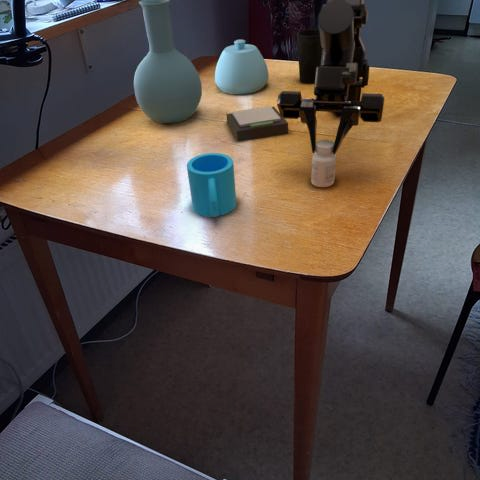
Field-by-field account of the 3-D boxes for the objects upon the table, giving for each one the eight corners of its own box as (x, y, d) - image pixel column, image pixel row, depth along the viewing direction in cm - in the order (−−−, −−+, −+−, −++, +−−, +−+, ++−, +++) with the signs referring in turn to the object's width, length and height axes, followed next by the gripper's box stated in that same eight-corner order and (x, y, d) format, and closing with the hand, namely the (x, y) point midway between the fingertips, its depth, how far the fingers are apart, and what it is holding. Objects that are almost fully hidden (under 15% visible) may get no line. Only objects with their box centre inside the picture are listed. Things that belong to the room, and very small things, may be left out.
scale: (274, 116, 118) (274, 103, 116) (288, 133, 111) (288, 120, 109) (226, 123, 117) (225, 111, 115) (237, 141, 109) (236, 128, 107)
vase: (148, 134, 115) (125, 12, 98) (133, 111, 126) (110, -1, 109) (213, 120, 119) (201, 1, 102) (193, 99, 130) (179, -11, 113)
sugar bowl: (236, 75, 143) (233, 31, 135) (278, 82, 136) (278, 36, 128) (205, 91, 135) (200, 44, 127) (248, 99, 128) (246, 51, 120)
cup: (322, 85, 133) (324, 36, 124) (294, 84, 134) (295, 36, 126) (324, 75, 138) (326, 28, 130) (297, 75, 139) (298, 28, 131)
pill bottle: (336, 178, 94) (339, 139, 89) (331, 189, 91) (334, 149, 86) (313, 176, 95) (315, 137, 90) (308, 186, 92) (310, 147, 87)
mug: (192, 195, 92) (186, 155, 87) (234, 192, 92) (231, 151, 87) (192, 230, 83) (186, 187, 78) (239, 225, 84) (236, 182, 78)
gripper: (278, 41, 82) (266, 132, 82) (392, 42, 78) (378, 137, 78) (287, 76, 93) (275, 156, 93) (387, 78, 88) (375, 162, 88)
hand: (323, 152), depth 87 cm, fingers closed on pill bottle, 3 cm apart
